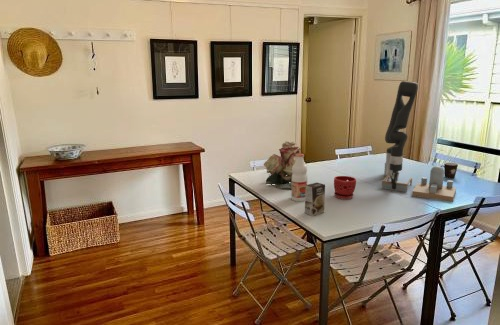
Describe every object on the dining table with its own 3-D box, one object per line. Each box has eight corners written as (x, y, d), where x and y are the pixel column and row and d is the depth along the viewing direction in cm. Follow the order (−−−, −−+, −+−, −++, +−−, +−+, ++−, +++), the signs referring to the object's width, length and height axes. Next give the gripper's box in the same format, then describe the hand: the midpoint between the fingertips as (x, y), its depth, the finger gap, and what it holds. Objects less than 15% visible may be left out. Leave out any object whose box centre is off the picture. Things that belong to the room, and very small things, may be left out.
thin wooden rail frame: (381, 188, 240) (381, 180, 239) (387, 181, 254) (387, 174, 253) (407, 192, 232) (407, 184, 230) (412, 185, 246) (412, 177, 244)
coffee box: (313, 216, 195) (313, 187, 191) (304, 213, 200) (305, 184, 196) (324, 212, 200) (325, 184, 196) (316, 209, 205) (316, 181, 201)
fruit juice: (294, 195, 228) (295, 152, 222) (309, 198, 224) (310, 153, 217) (288, 200, 220) (289, 155, 214) (303, 202, 216) (304, 156, 209)
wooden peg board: (412, 195, 225) (414, 169, 221) (417, 186, 242) (420, 162, 238) (452, 201, 213) (455, 174, 209) (455, 191, 230) (458, 166, 226)
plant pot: (351, 201, 216) (352, 182, 213) (330, 198, 223) (331, 179, 220) (358, 195, 227) (359, 176, 224) (337, 192, 234) (338, 174, 231)
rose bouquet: (259, 185, 250) (259, 142, 243) (285, 176, 271) (285, 136, 264) (290, 193, 233) (290, 147, 226) (314, 183, 254) (316, 140, 247)
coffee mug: (455, 176, 264) (457, 162, 261) (456, 179, 256) (458, 165, 254) (437, 174, 269) (439, 161, 266) (438, 177, 261) (439, 164, 259)
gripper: (392, 159, 240) (390, 185, 244) (387, 164, 229) (385, 190, 233) (404, 161, 236) (402, 186, 240) (400, 165, 225) (397, 192, 229)
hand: (394, 188), depth 236 cm, fingers closed on thin wooden rail frame, 1 cm apart
